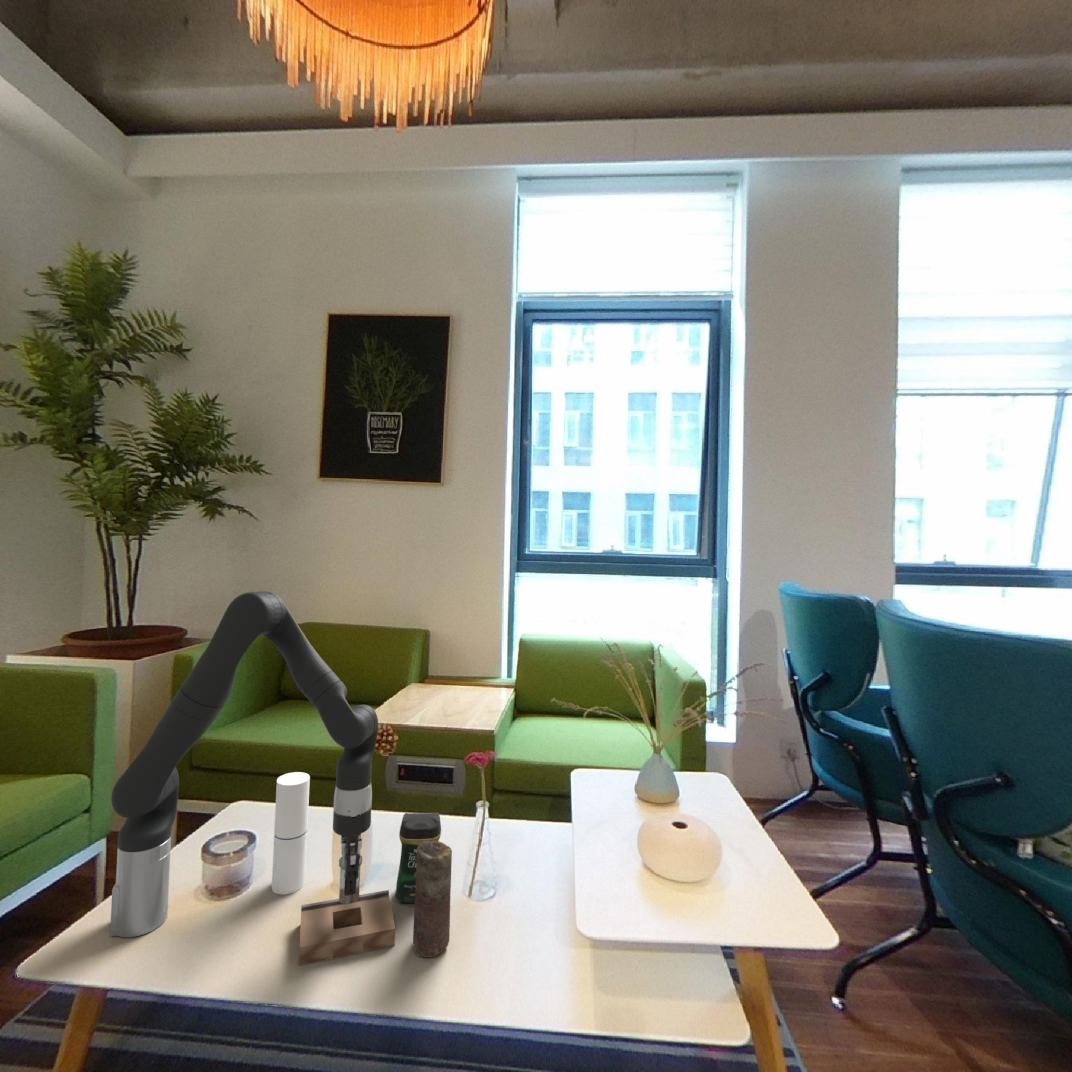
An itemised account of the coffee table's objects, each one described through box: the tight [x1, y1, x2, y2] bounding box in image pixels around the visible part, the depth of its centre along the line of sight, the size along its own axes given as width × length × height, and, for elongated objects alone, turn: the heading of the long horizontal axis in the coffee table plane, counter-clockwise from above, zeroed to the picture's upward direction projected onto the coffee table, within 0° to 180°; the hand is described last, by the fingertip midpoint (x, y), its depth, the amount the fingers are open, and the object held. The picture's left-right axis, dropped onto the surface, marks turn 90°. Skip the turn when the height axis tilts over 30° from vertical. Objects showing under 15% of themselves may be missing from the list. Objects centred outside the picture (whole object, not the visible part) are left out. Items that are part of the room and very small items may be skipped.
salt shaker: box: [338, 854, 363, 904], centre depth 118 cm, size 5×5×8 cm
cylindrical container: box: [271, 771, 311, 896], centre depth 133 cm, size 7×7×25 cm
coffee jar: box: [395, 812, 442, 904], centre depth 132 cm, size 10×8×19 cm
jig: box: [298, 889, 396, 967], centre depth 118 cm, size 18×12×4 cm, turn 111°
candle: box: [412, 841, 453, 958], centre depth 116 cm, size 8×7×20 cm
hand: (349, 887), depth 118 cm, fingers closed on salt shaker, 4 cm apart
